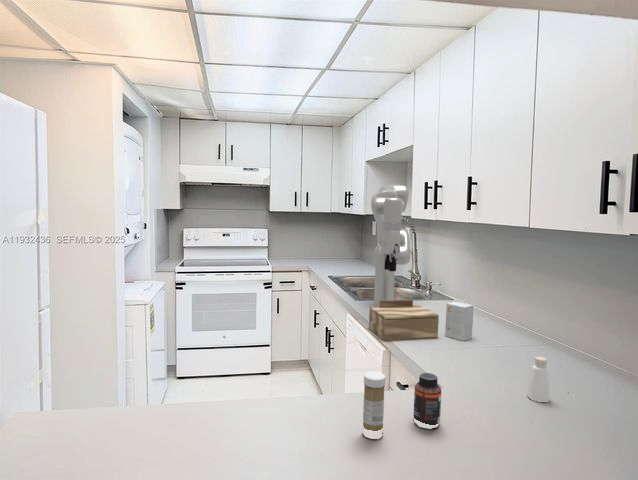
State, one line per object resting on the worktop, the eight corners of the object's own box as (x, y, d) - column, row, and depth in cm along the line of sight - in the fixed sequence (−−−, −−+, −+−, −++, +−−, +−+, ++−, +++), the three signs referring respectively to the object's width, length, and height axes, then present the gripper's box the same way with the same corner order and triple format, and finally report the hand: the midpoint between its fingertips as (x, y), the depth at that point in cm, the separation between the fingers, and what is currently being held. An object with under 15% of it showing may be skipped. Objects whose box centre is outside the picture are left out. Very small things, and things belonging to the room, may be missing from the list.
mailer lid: (369, 308, 168) (369, 300, 168) (418, 307, 173) (419, 299, 173) (385, 319, 153) (385, 310, 152) (438, 317, 158) (439, 308, 158)
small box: (472, 338, 160) (474, 305, 159) (463, 341, 156) (465, 307, 155) (453, 333, 166) (455, 301, 165) (444, 335, 162) (446, 303, 161)
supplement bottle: (445, 427, 94) (448, 378, 93) (426, 433, 91) (428, 383, 90) (426, 415, 99) (428, 369, 98) (407, 420, 96) (409, 373, 95)
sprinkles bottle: (381, 429, 92) (383, 371, 91) (384, 441, 87) (387, 379, 86) (360, 429, 92) (363, 370, 91) (362, 440, 87) (365, 378, 86)
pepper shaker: (522, 395, 111) (524, 355, 110) (537, 392, 113) (539, 353, 112) (539, 404, 106) (542, 362, 105) (554, 401, 108) (557, 360, 107)
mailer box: (368, 328, 169) (369, 309, 168) (417, 326, 174) (418, 307, 173) (384, 341, 153) (385, 320, 153) (437, 338, 159) (438, 317, 158)
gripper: (376, 226, 181) (374, 267, 182) (391, 228, 165) (389, 273, 166) (392, 226, 183) (390, 267, 184) (409, 228, 167) (407, 273, 168)
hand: (390, 269), depth 175 cm, fingers open, 3 cm apart
